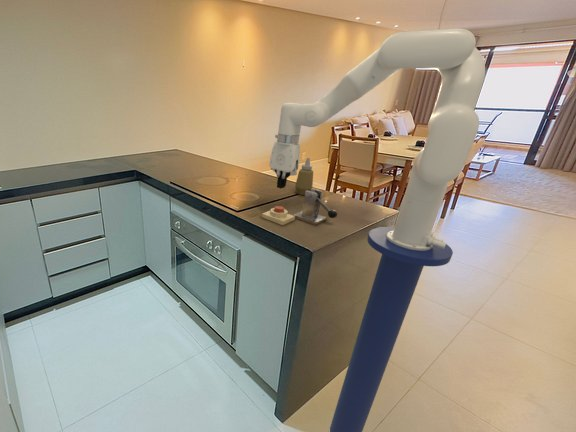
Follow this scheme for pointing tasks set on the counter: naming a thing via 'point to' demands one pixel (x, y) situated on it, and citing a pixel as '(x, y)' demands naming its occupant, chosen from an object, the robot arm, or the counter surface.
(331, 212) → the lever
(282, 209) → the button
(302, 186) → the squeeze bottle
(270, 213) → the control block
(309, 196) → the bracket
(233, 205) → the counter surface
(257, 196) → the counter surface
